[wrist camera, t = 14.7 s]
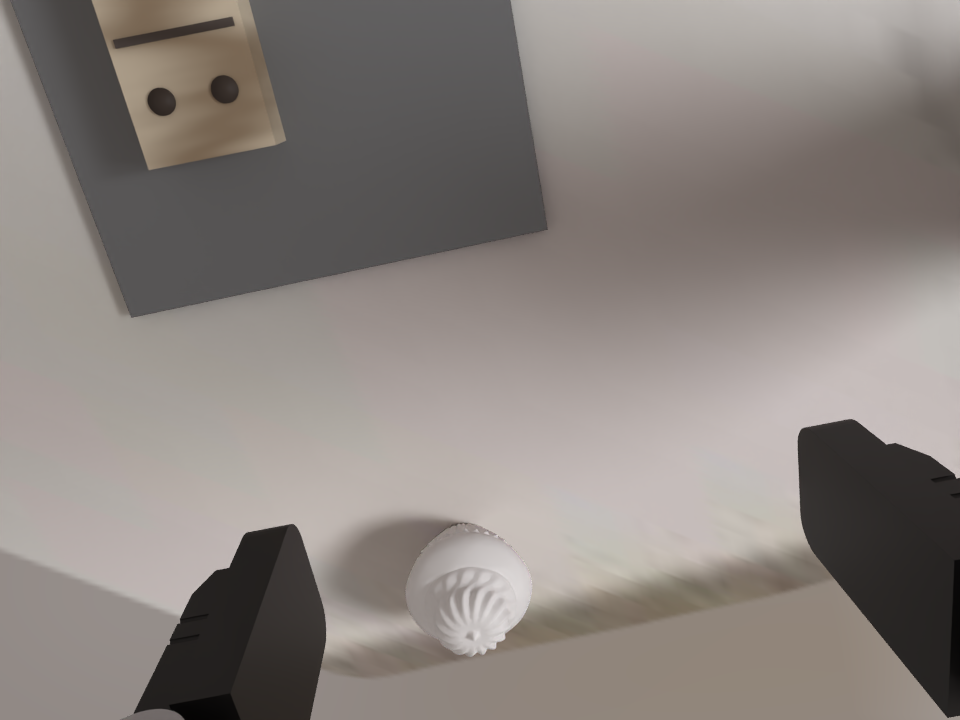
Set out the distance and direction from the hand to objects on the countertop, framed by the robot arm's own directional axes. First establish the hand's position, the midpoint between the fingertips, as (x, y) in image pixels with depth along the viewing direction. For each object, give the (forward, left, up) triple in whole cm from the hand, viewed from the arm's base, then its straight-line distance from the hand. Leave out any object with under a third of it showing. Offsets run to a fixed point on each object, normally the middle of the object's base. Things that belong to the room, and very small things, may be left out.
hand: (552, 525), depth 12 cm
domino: (+9, -6, -22) cm, 24 cm away
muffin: (+3, +16, -24) cm, 29 cm away
